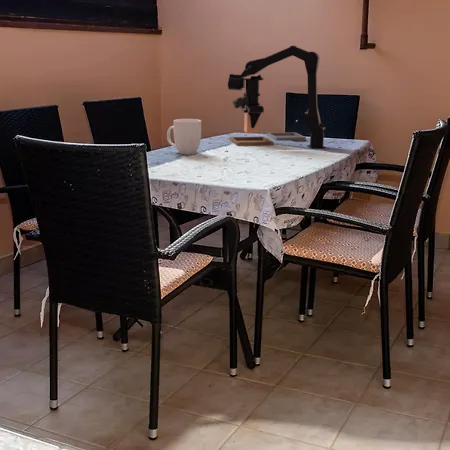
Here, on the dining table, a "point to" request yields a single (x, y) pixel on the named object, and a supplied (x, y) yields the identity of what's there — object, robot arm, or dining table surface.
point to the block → (249, 125)
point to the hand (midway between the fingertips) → (251, 127)
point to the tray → (287, 136)
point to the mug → (186, 135)
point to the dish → (251, 141)
